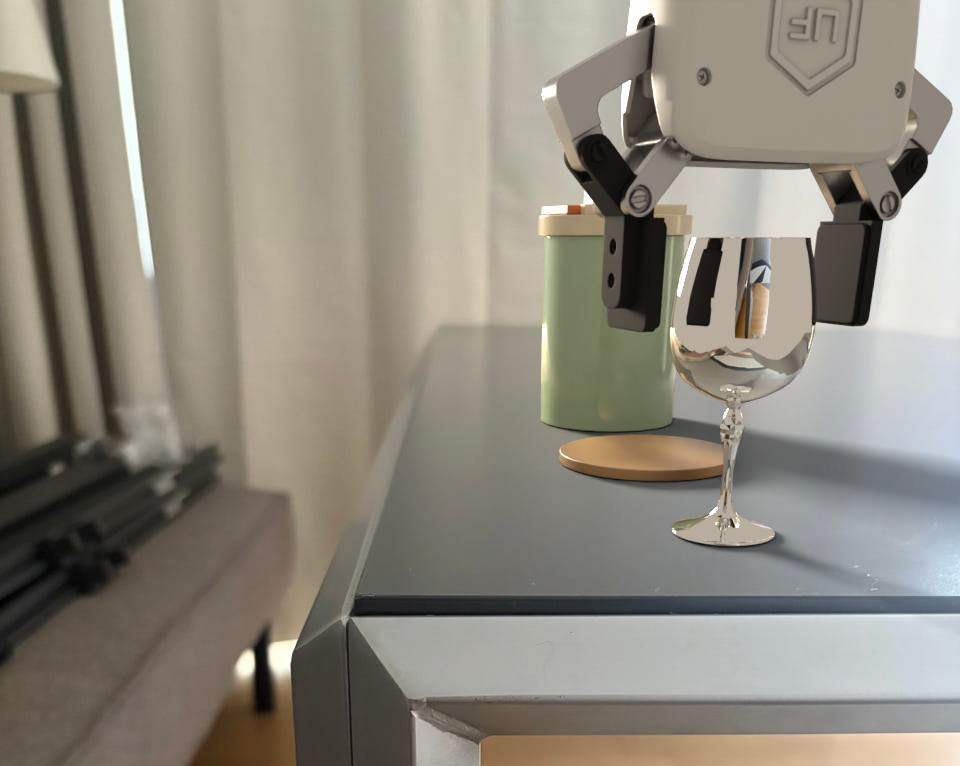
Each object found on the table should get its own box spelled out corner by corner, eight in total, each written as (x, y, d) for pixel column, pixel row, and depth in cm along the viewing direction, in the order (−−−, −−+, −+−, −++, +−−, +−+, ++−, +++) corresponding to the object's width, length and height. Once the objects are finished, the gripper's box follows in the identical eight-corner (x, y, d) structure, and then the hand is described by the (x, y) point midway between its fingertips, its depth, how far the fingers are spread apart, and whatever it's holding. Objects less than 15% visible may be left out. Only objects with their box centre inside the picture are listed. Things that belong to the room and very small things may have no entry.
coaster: (677, 439, 63) (678, 430, 63) (771, 472, 54) (773, 461, 54) (532, 451, 60) (532, 441, 60) (608, 488, 51) (608, 476, 51)
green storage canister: (634, 404, 76) (645, 207, 70) (706, 427, 67) (724, 203, 62) (513, 412, 72) (515, 206, 67) (571, 437, 64) (579, 202, 59)
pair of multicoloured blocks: (591, 215, 66) (592, 186, 66) (619, 214, 63) (620, 184, 62) (541, 214, 65) (542, 186, 64) (567, 213, 62) (568, 183, 61)
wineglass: (629, 531, 44) (646, 237, 39) (703, 507, 47) (727, 237, 43) (744, 559, 40) (777, 238, 35) (815, 531, 44) (853, 237, 39)
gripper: (613, -294, 28) (585, 341, 34) (1073, -203, 33) (975, 329, 40) (513, -194, 34) (505, 324, 41) (912, -131, 40) (850, 316, 46)
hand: (737, 326), depth 40 cm, fingers open, 9 cm apart
